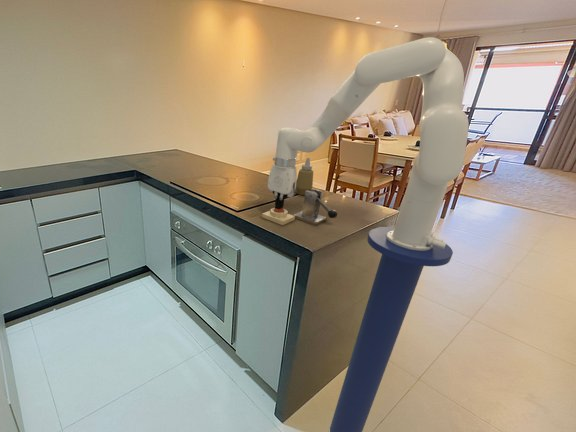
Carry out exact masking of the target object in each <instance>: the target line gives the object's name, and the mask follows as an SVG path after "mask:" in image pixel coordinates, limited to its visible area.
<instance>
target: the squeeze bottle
mask: <svg viewBox="0 0 576 432" xmlns="http://www.w3.org/2000/svg"><path fill="white" fill-rule="evenodd" d="M313 184H314V171H313V165H311V159H310V157H306V160H305V162H304V164H302V165H301V168H300V169H299V170H298V172H297V181H296V189H295V192H296V194H297V195H300V196H305V192H306V191H311V189H313V186H314V185H313Z"/></svg>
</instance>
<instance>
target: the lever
mask: <svg viewBox="0 0 576 432" xmlns="http://www.w3.org/2000/svg"><path fill="white" fill-rule="evenodd" d="M311 192H315V193H317V192H316V191H315V190H314V191H311ZM318 196H319V194H318V193H317V198H316V201H317V202H318V203H319V204H320V207H322V208H323V209H324V210H325V212H327V217H328V218H330V219H335V218H337V216H338V212H337V211H336V210H335V209H331V208H330V207H328V205H326V203H324V201H322V199H321V200H320V199H319V198H318Z"/></svg>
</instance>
